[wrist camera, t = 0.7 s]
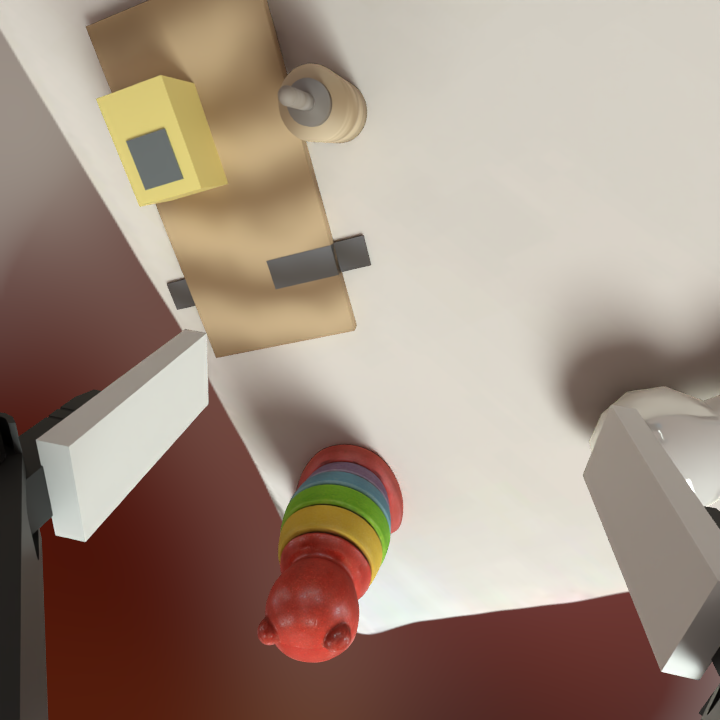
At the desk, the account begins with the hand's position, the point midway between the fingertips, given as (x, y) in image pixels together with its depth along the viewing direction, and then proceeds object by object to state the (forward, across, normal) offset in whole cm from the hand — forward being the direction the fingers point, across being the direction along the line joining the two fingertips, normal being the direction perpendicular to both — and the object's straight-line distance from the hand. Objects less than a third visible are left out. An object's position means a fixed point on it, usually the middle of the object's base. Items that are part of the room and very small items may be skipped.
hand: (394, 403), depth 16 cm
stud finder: (+24, -19, +5) cm, 31 cm away
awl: (+25, -8, +9) cm, 27 cm away
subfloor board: (+25, -15, +2) cm, 29 cm away
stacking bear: (+24, -3, -24) cm, 34 cm away
